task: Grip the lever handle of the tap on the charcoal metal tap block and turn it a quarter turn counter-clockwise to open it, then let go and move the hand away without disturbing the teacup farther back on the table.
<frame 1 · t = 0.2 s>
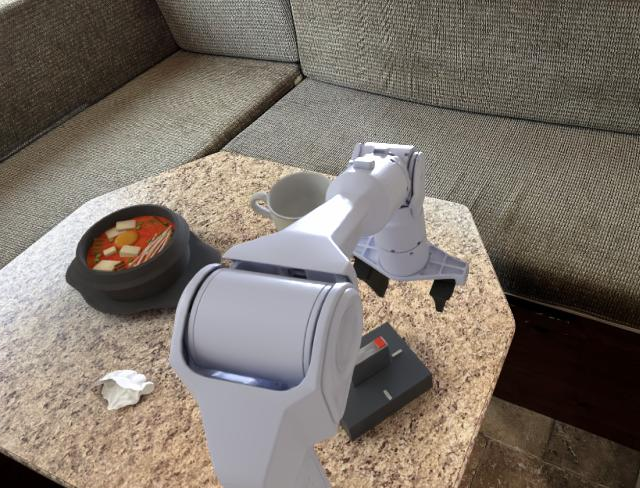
hand: (412, 297, 75), 10 cm above the table, tool pointing down, fingers open, 7 cm apart
tap handle: (367, 361, 74), point 5 cm above the table, hinge at 0.0°
tissue: (122, 393, 80), on the table
tap block: (372, 384, 77), on the table
casserole: (148, 275, 96), on the table
teacup: (300, 228, 101), on the table
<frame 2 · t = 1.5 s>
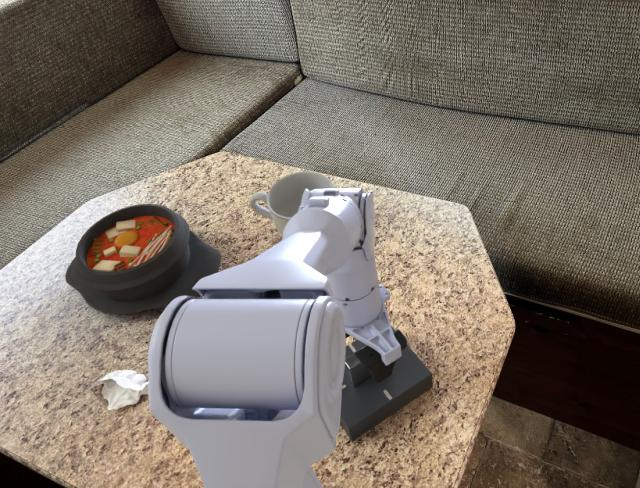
hand: (366, 354, 73), 7 cm above the table, tool pointing down, fingers open, 7 cm apart
nothing on the table moved.
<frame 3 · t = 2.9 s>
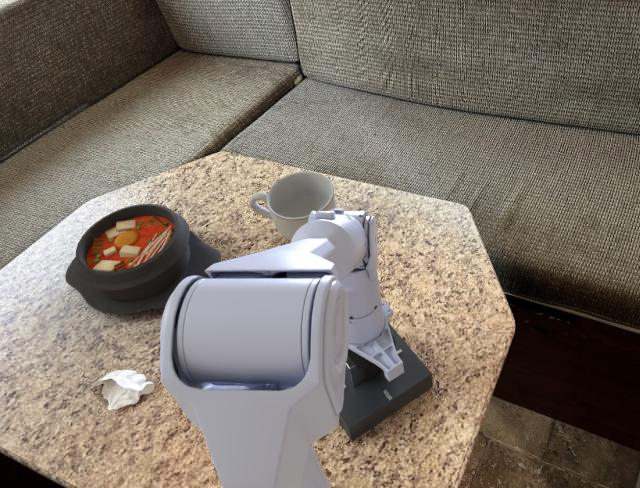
hand: (369, 368, 75), 4 cm above the table, tool pointing down, fingers closed on tap handle, 2 cm apart
tap handle: (367, 361, 74), point 5 cm above the table, hinge at -0.1°, touching gripper
everything else where it was.
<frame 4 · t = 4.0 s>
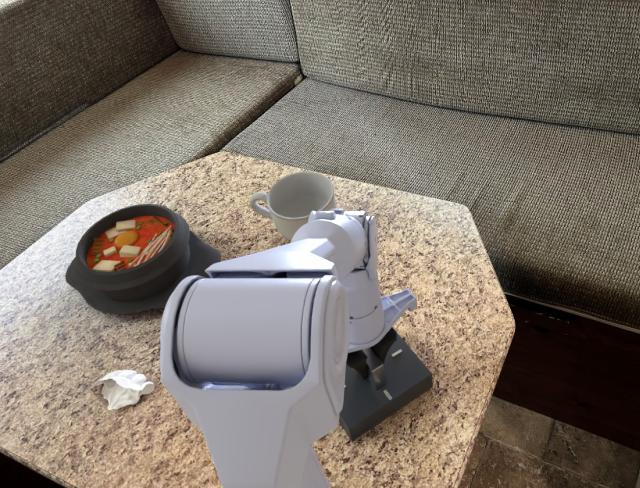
hand: (369, 368, 75), 3 cm above the table, tool pointing down, fingers closed on tap handle, 2 cm apart
tap handle: (367, 361, 74), point 5 cm above the table, hinge at 89.7°, touching gripper
everything else where it was.
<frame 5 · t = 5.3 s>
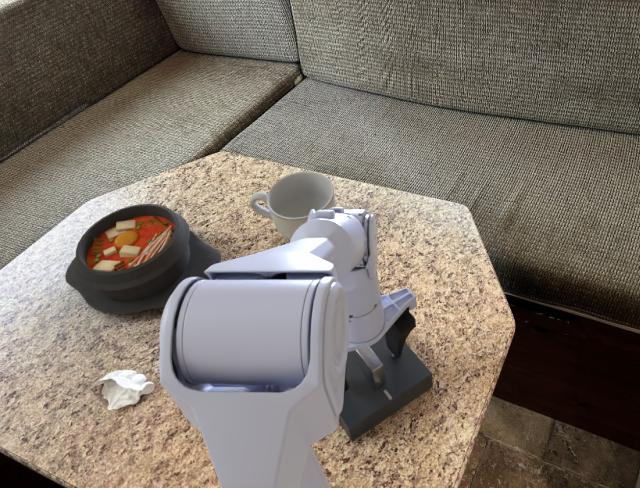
hand: (368, 368, 75), 4 cm above the table, tool pointing down, fingers open, 7 cm apart
tap handle: (367, 361, 74), point 5 cm above the table, hinge at 89.5°
everything else where it was.
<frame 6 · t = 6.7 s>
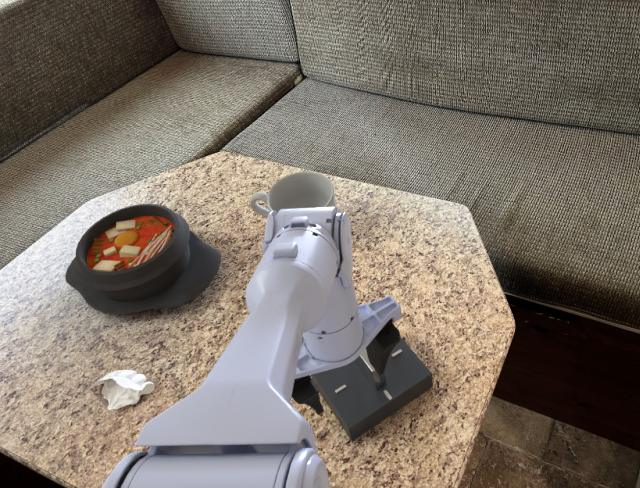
hand: (347, 386, 66), 10 cm above the table, tool pointing down, fingers open, 7 cm apart
nothing on the table moved.
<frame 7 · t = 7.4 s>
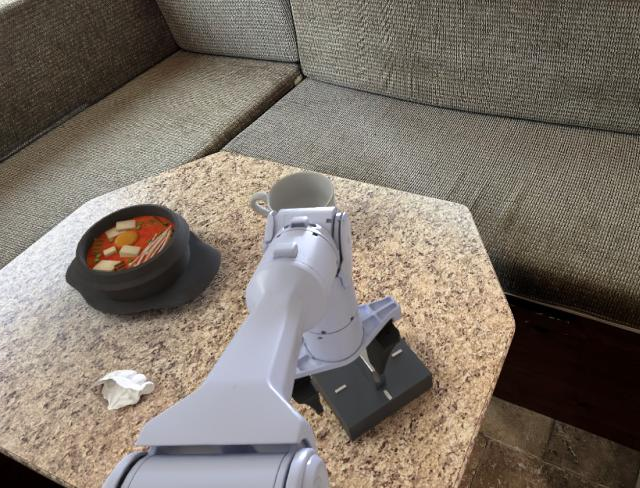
hand: (347, 386, 66), 10 cm above the table, tool pointing down, fingers open, 7 cm apart
nothing on the table moved.
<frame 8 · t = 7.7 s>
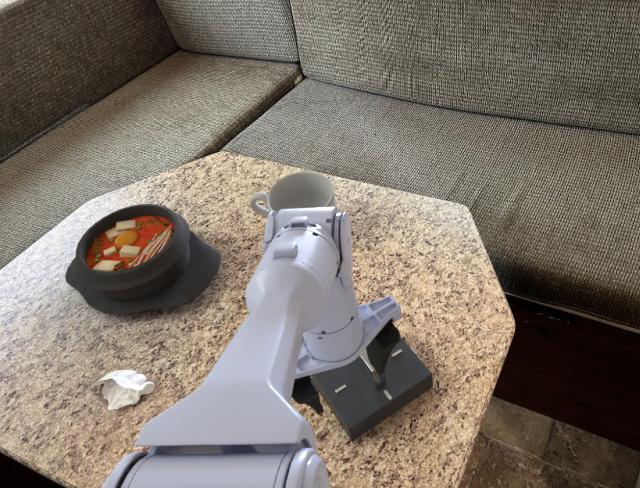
hand: (347, 386, 66), 10 cm above the table, tool pointing down, fingers open, 7 cm apart
nothing on the table moved.
at the end: tap handle at +90° (first picture: +0°); the gripper is holding nothing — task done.
